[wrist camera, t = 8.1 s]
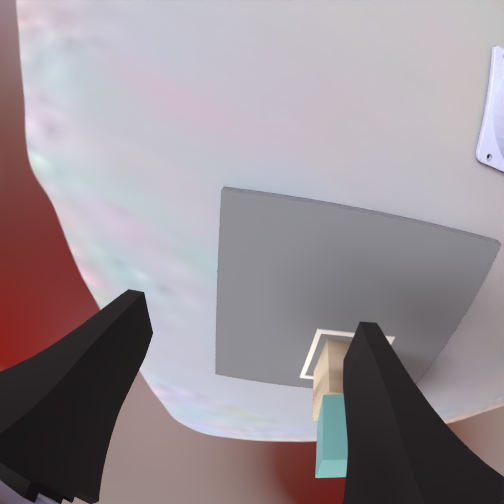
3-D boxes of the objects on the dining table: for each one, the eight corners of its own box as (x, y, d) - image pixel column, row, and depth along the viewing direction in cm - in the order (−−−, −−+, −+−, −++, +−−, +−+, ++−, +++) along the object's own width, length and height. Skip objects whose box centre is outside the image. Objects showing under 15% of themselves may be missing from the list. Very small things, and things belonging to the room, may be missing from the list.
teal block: (385, 391, 18) (393, 454, 13) (371, 419, 20) (375, 474, 16) (322, 394, 18) (322, 460, 14) (317, 422, 21) (315, 477, 17)
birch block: (379, 344, 22) (388, 394, 18) (360, 375, 24) (365, 422, 20) (327, 339, 22) (329, 392, 18) (313, 371, 25) (312, 420, 21)
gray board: (497, 240, 16) (501, 245, 16) (407, 387, 26) (408, 393, 25) (223, 186, 18) (221, 190, 17) (216, 369, 27) (215, 374, 27)
